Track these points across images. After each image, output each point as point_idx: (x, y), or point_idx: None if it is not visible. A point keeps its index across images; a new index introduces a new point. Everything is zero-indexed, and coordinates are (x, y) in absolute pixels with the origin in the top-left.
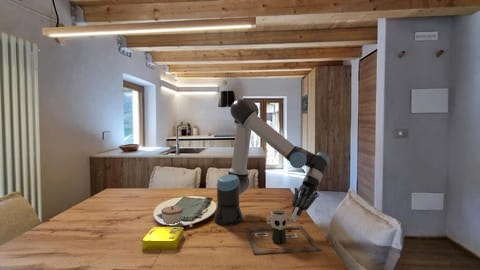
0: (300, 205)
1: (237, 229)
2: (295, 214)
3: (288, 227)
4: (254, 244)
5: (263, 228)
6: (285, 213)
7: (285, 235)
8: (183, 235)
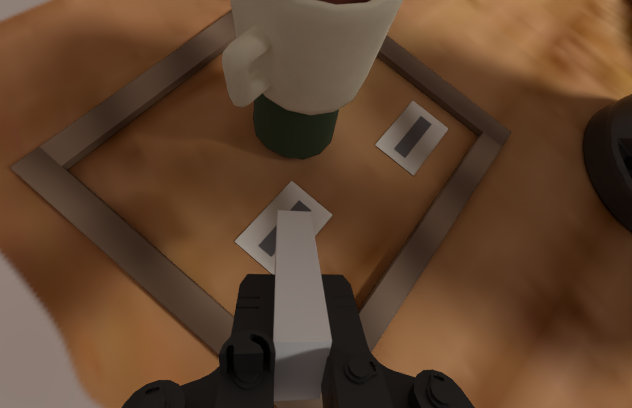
0: (257, 405)
1: (531, 115)
2: (276, 251)
3: (367, 324)
4: None
5: (458, 194)
6: (277, 1)
7: (257, 113)
8: None
